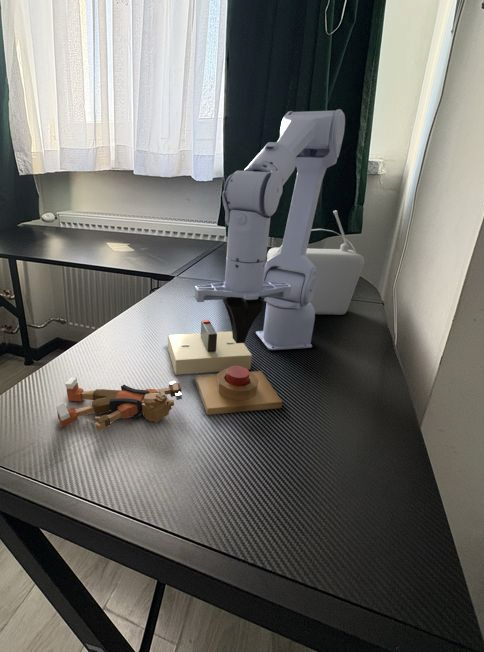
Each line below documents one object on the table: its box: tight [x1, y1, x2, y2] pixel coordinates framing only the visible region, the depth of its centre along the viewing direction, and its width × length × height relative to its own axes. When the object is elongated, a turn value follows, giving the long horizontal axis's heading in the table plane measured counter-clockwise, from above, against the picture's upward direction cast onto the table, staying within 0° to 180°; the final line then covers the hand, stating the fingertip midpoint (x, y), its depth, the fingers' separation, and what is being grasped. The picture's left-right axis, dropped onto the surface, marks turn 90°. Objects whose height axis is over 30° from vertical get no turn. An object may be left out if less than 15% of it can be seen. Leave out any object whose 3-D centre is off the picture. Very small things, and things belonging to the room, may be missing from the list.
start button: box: [226, 366, 250, 386], centre depth 61 cm, size 4×4×2 cm
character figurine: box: [56, 376, 183, 432], centre depth 56 cm, size 12×5×18 cm
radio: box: [266, 209, 365, 316], centre depth 92 cm, size 22×8×25 cm, turn 88°
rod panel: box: [167, 330, 253, 376], centre depth 72 cm, size 14×10×3 cm
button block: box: [194, 369, 283, 416], centre depth 61 cm, size 12×9×3 cm
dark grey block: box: [200, 319, 217, 352], centre depth 71 cm, size 6×2×4 cm, turn 9°
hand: (238, 340), depth 60 cm, fingers closed
